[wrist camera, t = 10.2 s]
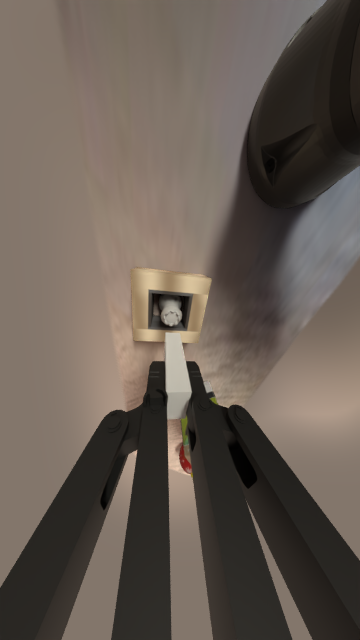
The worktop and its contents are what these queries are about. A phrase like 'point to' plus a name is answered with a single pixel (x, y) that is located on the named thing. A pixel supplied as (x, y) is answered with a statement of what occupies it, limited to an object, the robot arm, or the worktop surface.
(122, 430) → the robot arm
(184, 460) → the christmas ornament
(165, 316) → the rook chess piece
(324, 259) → the worktop surface
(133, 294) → the socket block
